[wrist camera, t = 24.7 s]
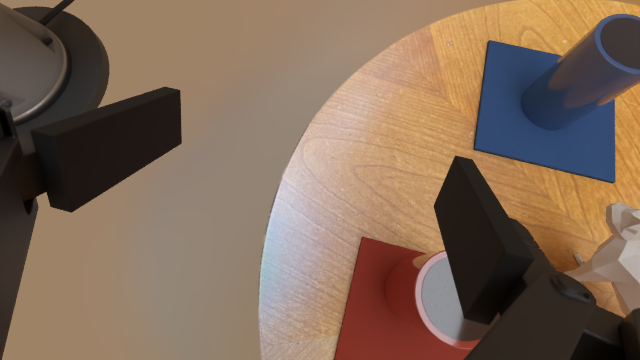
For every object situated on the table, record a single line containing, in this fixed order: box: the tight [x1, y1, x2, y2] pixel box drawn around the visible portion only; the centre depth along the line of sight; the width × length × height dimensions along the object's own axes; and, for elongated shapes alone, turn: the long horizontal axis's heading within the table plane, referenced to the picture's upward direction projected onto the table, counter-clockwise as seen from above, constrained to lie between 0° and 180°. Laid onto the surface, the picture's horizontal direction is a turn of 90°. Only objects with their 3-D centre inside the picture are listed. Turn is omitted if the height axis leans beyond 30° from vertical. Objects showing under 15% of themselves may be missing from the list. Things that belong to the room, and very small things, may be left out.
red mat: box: [334, 237, 472, 360], centre depth 31 cm, size 18×13×1 cm
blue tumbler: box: [521, 14, 640, 130], centre depth 34 cm, size 7×7×11 cm
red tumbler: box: [384, 250, 500, 349], centre depth 27 cm, size 7×7×11 cm
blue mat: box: [474, 40, 615, 183], centre depth 39 cm, size 16×16×1 cm
